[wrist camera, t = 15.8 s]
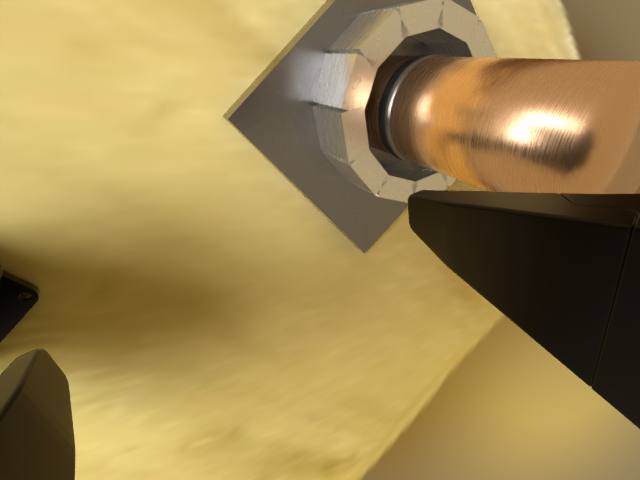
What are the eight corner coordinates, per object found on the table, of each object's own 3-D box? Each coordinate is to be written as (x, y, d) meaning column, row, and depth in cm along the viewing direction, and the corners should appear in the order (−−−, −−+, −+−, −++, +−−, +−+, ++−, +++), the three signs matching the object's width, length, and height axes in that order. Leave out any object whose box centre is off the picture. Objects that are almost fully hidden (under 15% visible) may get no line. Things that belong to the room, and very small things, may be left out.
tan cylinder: (401, 163, 24) (605, 243, 14) (335, 131, 21) (535, 203, 11) (441, 80, 23) (693, 104, 13) (377, 33, 20) (640, 19, 10)
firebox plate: (356, 247, 26) (391, 274, 23) (222, 116, 19) (245, 129, 16) (496, 92, 26) (551, 97, 23) (414, -96, 19) (476, -127, 16)
